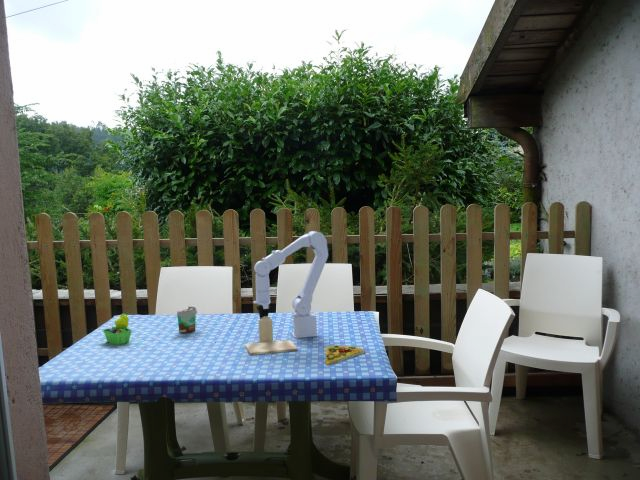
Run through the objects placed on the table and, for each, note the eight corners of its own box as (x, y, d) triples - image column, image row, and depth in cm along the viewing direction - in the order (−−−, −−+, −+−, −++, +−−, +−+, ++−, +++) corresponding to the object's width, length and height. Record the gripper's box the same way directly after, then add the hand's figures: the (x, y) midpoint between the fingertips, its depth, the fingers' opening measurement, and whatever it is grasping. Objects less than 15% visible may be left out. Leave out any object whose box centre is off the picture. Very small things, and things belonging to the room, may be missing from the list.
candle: (259, 339, 230) (258, 315, 229) (273, 339, 230) (272, 315, 229) (259, 343, 224) (258, 318, 224) (273, 342, 225) (272, 318, 224)
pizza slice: (366, 353, 209) (366, 345, 208) (347, 369, 190) (347, 360, 189) (328, 349, 215) (327, 342, 214) (305, 365, 196) (305, 356, 195)
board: (290, 341, 225) (290, 339, 225) (297, 350, 212) (297, 348, 212) (245, 346, 221) (245, 344, 221) (249, 355, 208) (249, 353, 208)
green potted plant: (102, 341, 234) (101, 315, 233) (122, 337, 240) (121, 311, 239) (115, 346, 226) (114, 318, 225) (136, 341, 232) (134, 314, 231)
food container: (191, 335, 241) (189, 312, 240) (177, 334, 243) (176, 311, 242) (202, 328, 253) (201, 306, 253) (189, 328, 255) (188, 306, 254)
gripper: (250, 288, 236) (251, 320, 237) (255, 293, 222) (256, 327, 223) (267, 287, 238) (268, 318, 239) (273, 292, 224) (274, 326, 225)
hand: (263, 323), depth 231 cm, fingers closed
